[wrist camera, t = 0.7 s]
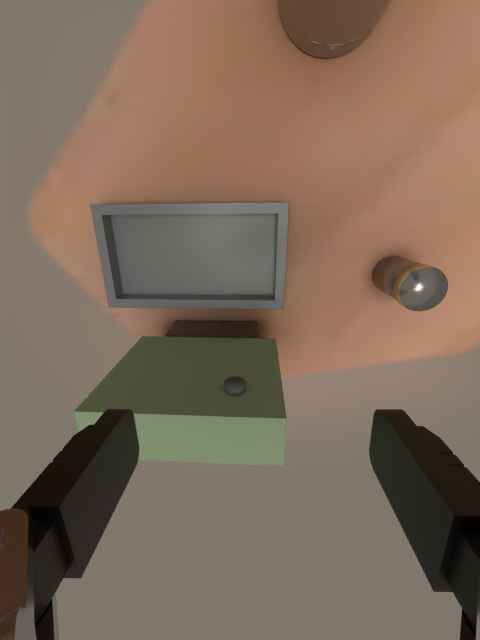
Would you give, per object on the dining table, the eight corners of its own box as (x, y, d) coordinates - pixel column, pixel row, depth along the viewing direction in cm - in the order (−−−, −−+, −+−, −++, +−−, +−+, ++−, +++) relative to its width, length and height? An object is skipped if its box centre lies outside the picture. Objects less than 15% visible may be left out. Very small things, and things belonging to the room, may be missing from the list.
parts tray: (102, 204, 31) (90, 204, 29) (286, 202, 30) (288, 202, 28) (118, 300, 35) (109, 307, 33) (281, 302, 34) (283, 309, 32)
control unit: (159, 312, 35) (72, 404, 19) (273, 313, 35) (287, 411, 18) (164, 347, 37) (86, 460, 20) (271, 349, 36) (283, 468, 20)
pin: (374, 254, 32) (404, 266, 25) (413, 254, 31) (454, 266, 25) (368, 291, 33) (395, 312, 27) (405, 291, 33) (442, 312, 26)
